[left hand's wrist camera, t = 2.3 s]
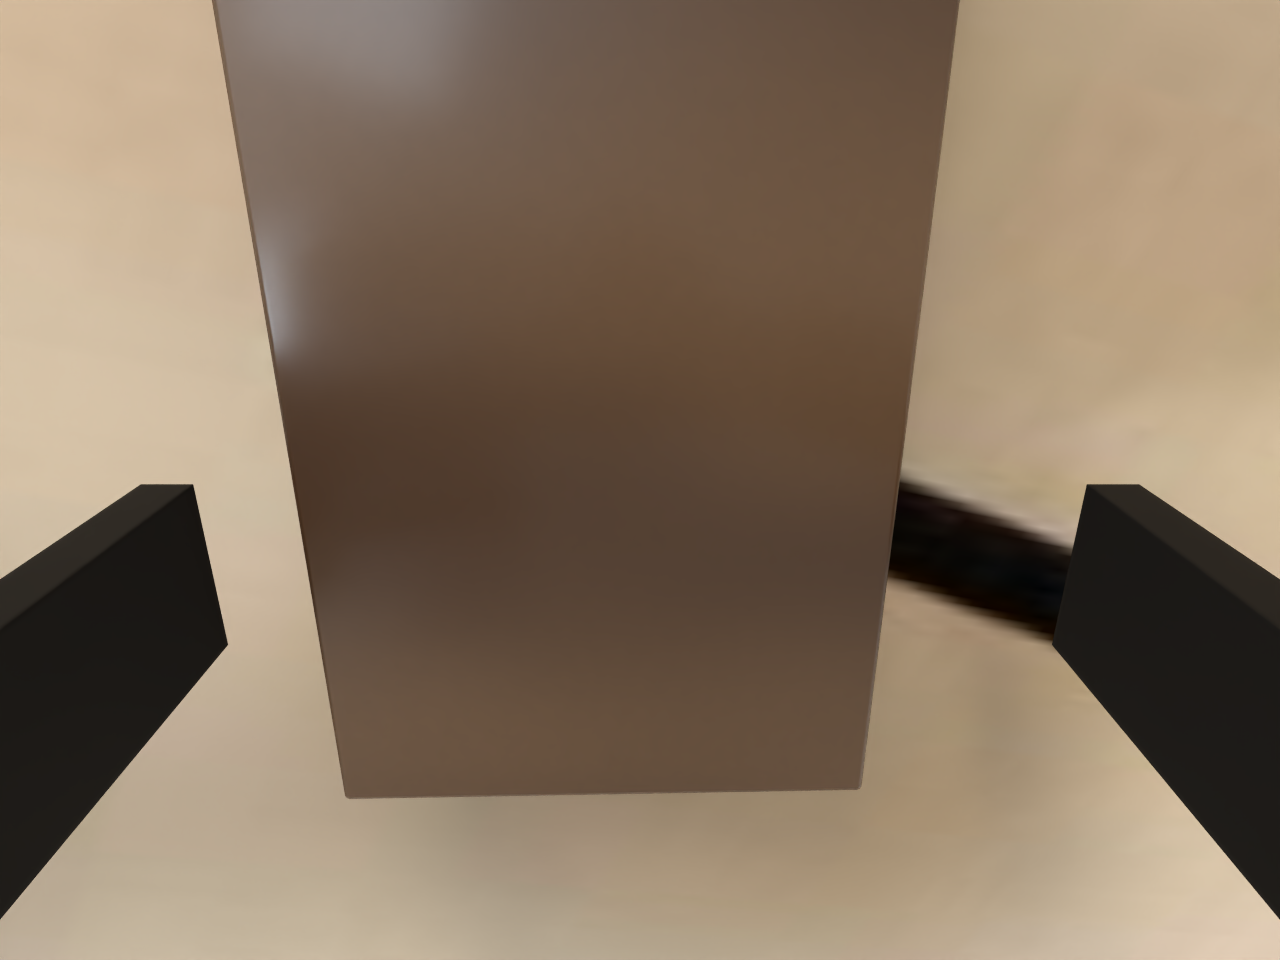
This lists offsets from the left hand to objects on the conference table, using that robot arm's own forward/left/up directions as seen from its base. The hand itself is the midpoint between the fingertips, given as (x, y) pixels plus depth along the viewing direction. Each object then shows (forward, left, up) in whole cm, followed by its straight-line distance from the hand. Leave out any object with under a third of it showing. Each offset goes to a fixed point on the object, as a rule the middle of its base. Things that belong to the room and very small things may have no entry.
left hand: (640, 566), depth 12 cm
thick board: (+13, +23, -7) cm, 27 cm away
